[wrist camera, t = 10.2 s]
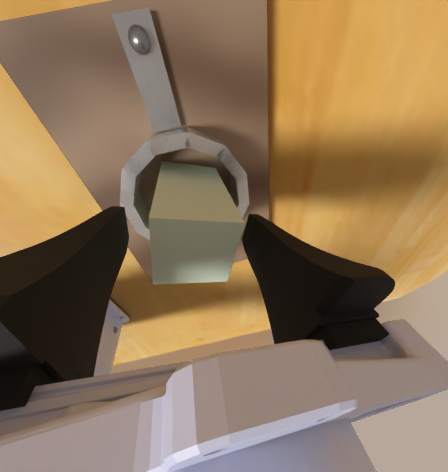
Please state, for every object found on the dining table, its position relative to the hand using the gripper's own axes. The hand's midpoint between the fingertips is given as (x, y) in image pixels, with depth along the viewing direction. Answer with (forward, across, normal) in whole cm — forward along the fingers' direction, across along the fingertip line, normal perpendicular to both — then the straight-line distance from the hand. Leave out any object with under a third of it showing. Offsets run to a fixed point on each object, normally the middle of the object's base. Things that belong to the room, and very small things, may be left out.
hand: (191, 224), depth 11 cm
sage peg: (+5, 0, 0) cm, 5 cm away
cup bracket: (+6, 0, 0) cm, 6 cm away
